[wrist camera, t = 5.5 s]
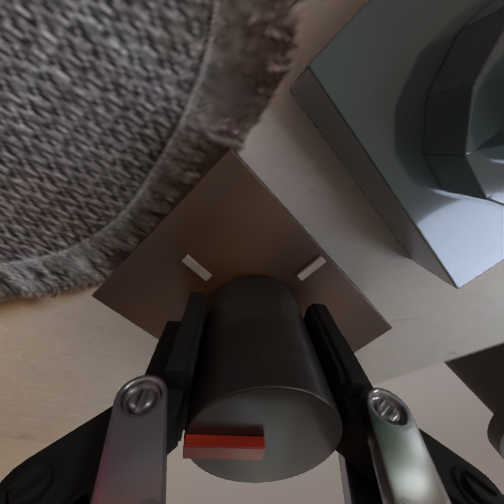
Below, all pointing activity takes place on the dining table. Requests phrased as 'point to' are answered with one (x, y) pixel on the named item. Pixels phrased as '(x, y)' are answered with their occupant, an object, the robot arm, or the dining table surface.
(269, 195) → the lock base
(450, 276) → the grey button housing
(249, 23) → the dining table surface
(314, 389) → the dial
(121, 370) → the dining table surface
